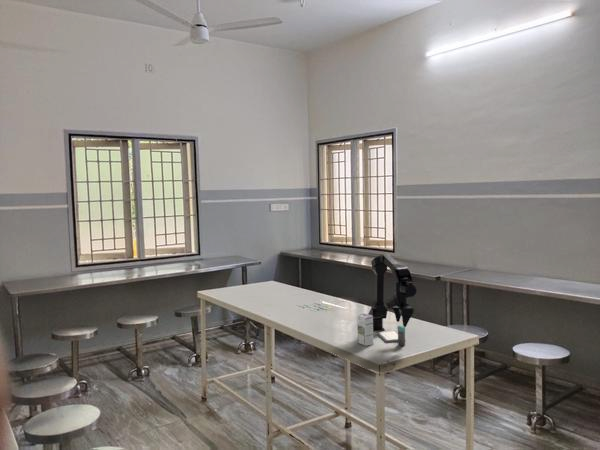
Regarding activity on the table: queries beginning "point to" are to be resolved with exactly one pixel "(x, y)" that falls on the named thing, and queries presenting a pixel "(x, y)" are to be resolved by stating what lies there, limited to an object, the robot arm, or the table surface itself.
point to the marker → (401, 336)
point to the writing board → (389, 336)
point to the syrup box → (365, 329)
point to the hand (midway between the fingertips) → (401, 324)
